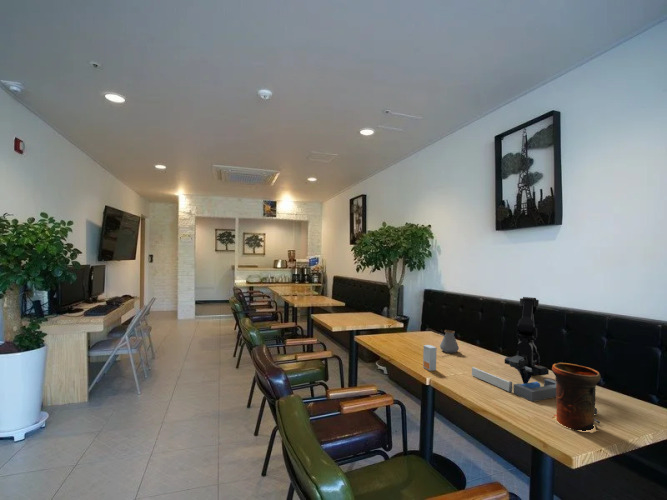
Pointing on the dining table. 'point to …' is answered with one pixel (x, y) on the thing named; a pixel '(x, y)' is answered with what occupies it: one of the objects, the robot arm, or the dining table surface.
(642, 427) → the dining table surface
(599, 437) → the dining table surface
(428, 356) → the skincare box
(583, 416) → the vessel
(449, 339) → the coffee pot
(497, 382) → the light grey flat bar
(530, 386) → the blue capsule rod
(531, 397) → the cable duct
